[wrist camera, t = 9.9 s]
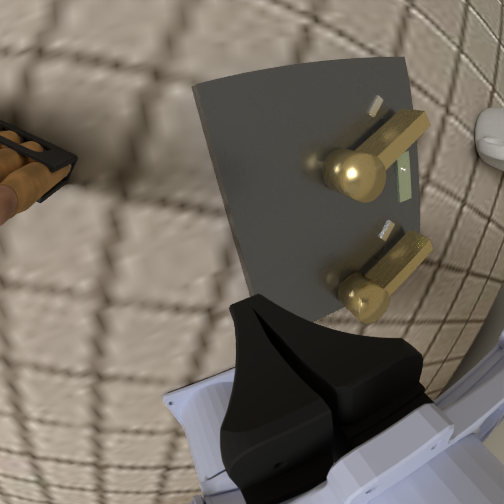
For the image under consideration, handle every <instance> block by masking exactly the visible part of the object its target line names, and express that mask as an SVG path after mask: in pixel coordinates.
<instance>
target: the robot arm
mask: <svg viewBox="0 0 504 504" xmlns="http://www.w3.org/2000/svg"><path fill="white" fill-rule="evenodd" d="M229 310H230V313H231V316H232V318H233V321H234V326H235V335H236V365H235V368H233V369H231V370H228V371H226V372H223V373H221V374H218V375H216V376H213V377H211V378H208V379H205V380H203V381H200V382H198V383H195V384H192V385H190V386H187V387H184V388H181V389H179V390H176V391H173V392H170V393H167V394H165V395H164V396H163V401H164V403H165V404H166V405H167V407H168V408H169V409H170V411H171V412H172V413H173V415H174V416H175V417H176V419H177V420H178V421H179V423H180V424H181V425H182V426H183V428H184V431H185V434H186V438H187V441H188V445H189V448H190V452H191V455H192V458H193V462H194V465H195V468H196V471H197V474H198V478H199V481H200V483H199V484H200V487H201V490H202V493H203V496H204V498H202V497H201V495H195V496H194V497H193V500H192V501H191V502H190V504H504V465H503V464H502V463H501V462H500V461H499V460H498V459H497V458H496V457H495V456H494V455H493V454H492V452H490V450H489V449H488V448H487V447H486V446H485V445H484V444H482V443H483V442H484V441H485V439H486V438H487V437H488V436H489V435H490V434H491V433H492V432H493V431H494V430H495V429H496V427H497V426H498V425H499V424H500V423H501V422H502V421H503V419H504V330H503V331H502V333H501V335H500V337H499V340H498V344H497V345H496V346H495V347H494V348H493V349H492V350H491V351H490V352H489V353H488V354H487V355H486V356H485V357H484V358H483V359H482V360H481V361H480V362H479V363H478V364H477V365H475V366H474V367H473V368H472V369H471V370H470V371H469V372H468V373H467V374H466V375H464V376H463V377H462V378H461V379H460V380H459V381H457V382H456V383H455V384H454V385H453V386H451V388H449V389H448V390H447V391H445V392H444V393H443V394H442V395H440V396H439V397H438V398H437V399H435V400H434V401H432V400H431V399H430V398H429V397H428V396H427V395H426V394H425V393H424V392H425V387H424V386H423V385H422V384H421V383H420V382H419V380H420V376H421V372H422V367H423V357H422V354H421V353H419V352H418V351H417V350H416V349H415V348H414V347H413V346H412V345H410V344H409V343H408V342H406V341H405V340H403V339H402V338H379V337H369V336H361V335H355V334H350V333H346V332H341V331H337V330H333V329H330V328H327V327H324V326H321V325H318V324H315V323H313V322H311V321H308V320H306V319H304V318H301V317H299V316H297V315H295V314H293V313H291V312H290V311H288V310H286V309H284V308H282V307H280V306H279V305H277V304H275V303H274V302H272V301H270V300H269V299H267V298H266V297H264V296H263V295H261V294H256V295H254V296H251V297H249V298H246V299H244V300H242V301H239V302H237V303H234V304H232V305H230V307H229ZM171 401H172V402H171ZM334 463H335V464H334Z"/></svg>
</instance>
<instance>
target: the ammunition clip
mask: <svg viewBox="0 0 504 504" xmlns="http://www.w3.org/2000/svg"><path fill="white" fill-rule="evenodd" d="M77 159H78V158H77V156H76V155H74V154H72V153H70V152H68V151H66V150H64V149H62V148H59V147H57V146H55V145H53V144H51V143H49V142H47V141H45V140H42V139H40V138H38V137H36V136H34V135H32V134H30V133H28V132H25V131H23V130H21V129H19V128H17V127H15V126H13V125H10V124H8V123H6V122H4V121H2V120H0V226H1V225H2V224H4V223H5V222H6V221H7V220H8V219H10V218H12V217H13V216H15V215H16V214H17V213H20V212H23V211H26V210H27V209H28V208H29V207H30V206H32V205H33V204H34V203H35V202H39V203H42V202H43V201H44V200H46V199H47V198H48V197H49V196H51V195H52V194H53V193H55V192H56V191H57V190H59V189H60V188H61V187H63V186H64V185H65V184H67V181H68V179H69V177H70V174H71V172H72V170H73V167H74V165H75V163H76V161H77Z"/></svg>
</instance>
